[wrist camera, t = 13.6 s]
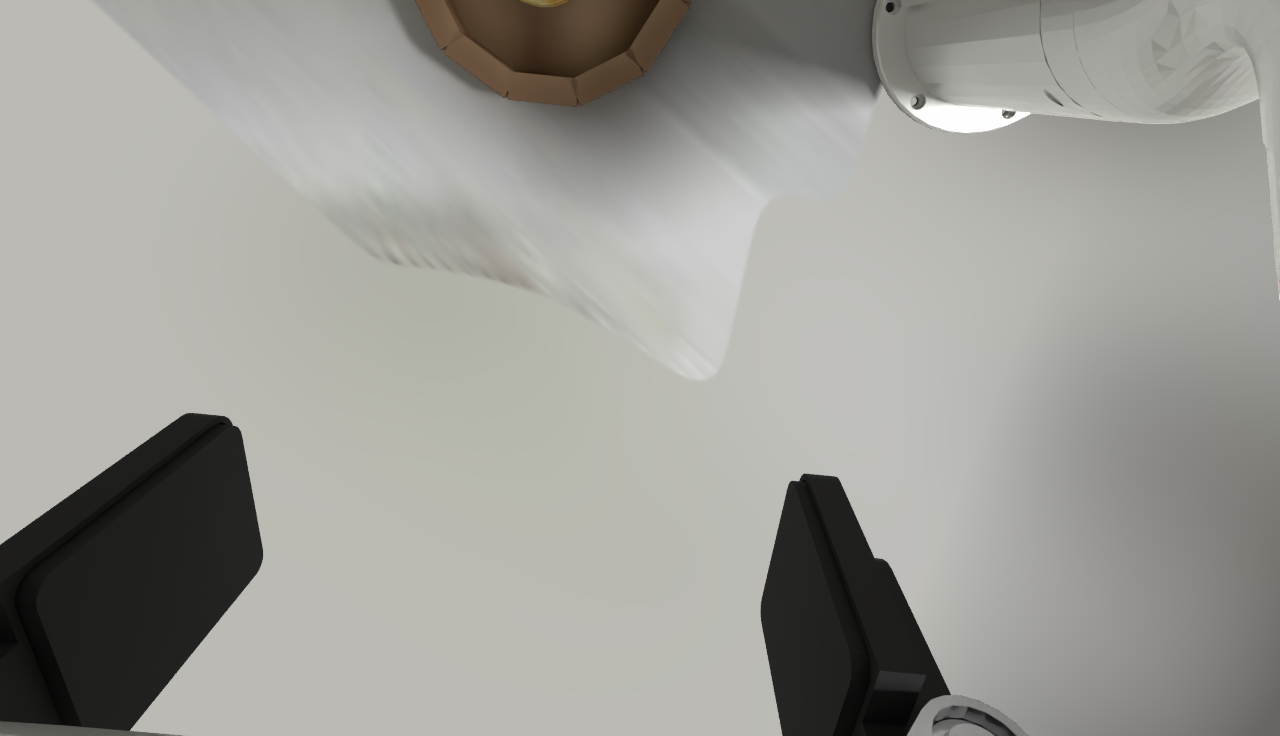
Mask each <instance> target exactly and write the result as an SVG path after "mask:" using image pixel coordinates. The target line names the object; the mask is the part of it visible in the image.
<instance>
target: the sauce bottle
mask: <svg viewBox="0 0 1280 736" xmlns="http://www.w3.org/2000/svg"><path fill="white" fill-rule="evenodd" d="M520 1H522V2H524V3H527V4H530V5H533V6H537V7H555V6H559V5H562V4H564V3H566V2H569V1H571V0H520Z"/></svg>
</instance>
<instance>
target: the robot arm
mask: <svg viewBox="0 0 1280 736" xmlns="http://www.w3.org/2000/svg"><path fill="white" fill-rule="evenodd" d="M888 3H891V4H892V5H893V9H892V11H891V12H887V11H886V5H887V4H888ZM872 46H873V58H874V61H875V65H876V68H877V72H878V76H879V78H880V80H881V82H882V84H883V86H884V88H885V90H886V92H887V94H888V95H889V96H890V98H891V99H892V100H893V102H894V103H895V104H896V105H897V106H898V108H899V109H900V110H901V111H903V112H904V113H905V114H906V115H908V116H909V117H910V118H912V119H913V120H914V121H916V122H918V123H920V124H923V125H925V126H927V127H929V128H931V129H936V130H940V131H943V132H949V133H959V134H972V133H983V132H988V131H992V130H995V129H998V128H1002V127H1006V126H1008V125H1010V124H1012V123H1014V122H1016V121H1018V120H1020V119H1022V118H1024V117H1026V116H1028V115H1029V114H1031V113H1036V114H1046V115H1057V116H1066V117H1076V118H1087V119H1097V120H1107V121H1118V122H1134V123H1145V124H1172V123H1181V122H1188V121H1193V120H1199V119H1204V118H1208V117H1212V116H1215V115H1218V114H1222V113H1225V112H1227V111H1230V110H1233V109H1235V108H1237V107H1240V106H1242V105H1245V104H1247V103H1250V102H1252V101H1255V100H1257V99H1260V111H1261V123H1262V135H1263V142H1264V145H1265V146H1266V148H1267V160H1268V174H1269V186H1270V198H1271V212H1272V225H1273V238H1274V250H1275V262H1276V263H1275V264H1276V274H1277V277H1278V288H1279V299H1280V0H877V1H876V5H875V9H874V14H873V25H872ZM913 97H916V99H917V102H916V104H915V105H914V106H912V105H911V100H912V98H913ZM1002 110H1005V113H1004V114H1003V115H1001V111H1002ZM262 560H263V548H262V542H261V537H260V532H259V527H258V521H257V516H256V510H255V504H254V499H253V493H252V488H251V482H250V477H249V472H248V466H247V461H246V455H245V450H244V444H243V439H242V434H241V431H240V430H239V428H238V427H236V426H233V425H232V422H231V421H230V420H229V418H227V417H225V416H217V415H207V414H197V413H196V414H195V413H187V414H185V415H183V416H181V417H180V418H178V419H177V420H176V421H174V422H172V423H171V424H170V425H168V426H167V427H166V428H164V429H163V430H161V431H160V432H158V433H157V434H156V435H154V436H153V437H151V438H150V439H149V440H147V441H146V442H144V443H143V444H141V445H140V446H139V447H137V448H136V449H134V450H133V451H132V452H130V453H129V454H127V455H126V456H125V457H123V458H122V459H120V460H119V461H118V462H116V463H115V464H113V465H112V466H111V467H109V468H108V469H106V470H105V471H103V472H102V473H101V474H99V475H98V476H96V477H95V478H94V479H92V480H91V481H89V482H88V483H87V484H85V485H84V486H82V487H81V488H80V489H78V490H77V491H75V492H74V493H73V494H71V495H70V496H69V497H67V498H66V499H64V500H63V501H62V502H60V503H59V504H57V505H56V506H54V507H53V508H51V509H50V510H49V511H47V512H46V513H44V514H43V515H42V516H40V517H39V518H37V519H36V520H35V521H33V522H32V523H30V524H29V525H28V526H26V527H25V528H23V529H22V530H20V531H19V532H18V533H17V534H15V535H14V536H12V537H11V538H9V539H8V540H6V541H5V542H4V543H2V544H1V545H0V736H181V735H169V734H158V733H146V732H134V731H130V730H131V728H132V727H133V726H134V725H135V723H136V722H137V721H138V720H139V718H140V717H141V716H142V715H143V713H144V712H145V711H146V710H147V708H148V707H149V706H150V705H151V703H152V702H153V701H154V700H155V699H156V697H157V696H158V695H159V694H160V692H161V691H162V690H163V689H164V687H165V686H166V685H167V684H168V683H169V681H170V680H171V679H172V678H173V676H174V675H175V674H176V673H177V671H178V670H179V669H180V667H182V665H183V664H184V663H185V662H186V660H187V659H188V658H189V656H190V655H191V654H192V653H193V652H194V650H195V649H196V648H197V647H198V646H199V644H200V643H201V642H202V641H203V639H204V638H205V637H206V636H207V634H208V633H209V632H210V631H211V629H212V628H213V627H214V626H215V625H216V623H217V622H218V621H219V619H220V618H221V617H222V616H223V615H224V613H225V612H226V611H227V610H228V608H229V607H230V606H231V605H232V604H233V602H234V601H235V600H236V599H237V597H238V596H239V595H240V594H241V592H242V591H243V590H244V589H245V587H246V586H247V585H248V584H249V583H250V581H251V580H252V579H253V578H254V576H255V575H256V574H257V572H258V570H259V568H260V566H261V563H262ZM761 622H762V628H763V633H764V638H765V643H766V649H767V655H768V660H769V665H770V670H771V676H772V681H773V686H774V692H775V697H776V703H777V708H778V713H779V719H780V724H781V729H782V735H783V736H1028V735H1027V734H1026V733H1025V732H1024V731H1023V730H1022V729H1021V728H1020V726H1018V724H1017V723H1015V722H1014V721H1013V720H1011V719H1010V718H1008V717H1007V716H1006V715H1004V714H1003V713H1002V712H1000V711H999V710H997V709H995V708H993V707H991V706H989V705H987V704H985V703H983V702H981V701H979V700H975V699H971V698H968V697H965V696H961V695H959V696H958V695H951V694H950V692H949V690H948V688H947V685H946V683H945V681H944V679H943V677H942V675H941V673H940V671H939V668H938V666H937V664H936V662H935V660H934V658H933V656H932V654H931V652H930V649H929V647H928V645H927V643H926V641H925V639H924V637H923V635H922V632H921V630H920V628H919V626H918V624H917V622H916V620H915V618H914V616H913V613H912V611H911V609H910V607H909V605H908V603H907V601H906V599H905V596H904V594H903V593H902V590H901V588H900V586H899V584H898V582H897V580H896V577H895V575H894V573H893V571H892V569H891V567H890V566H889V564H888V563H887V562H886V561H885V560H883V559H878V558H874V556H873V554H872V552H871V549H870V547H869V545H868V543H867V541H866V538H865V536H864V534H863V532H862V530H861V527H860V525H859V523H858V520H857V518H856V516H855V514H854V511H853V509H852V507H851V505H850V502H849V500H848V498H847V496H846V494H845V491H844V489H843V487H842V485H841V482H840V481H839V479H838V478H837V477H834V476H824V475H814V474H803V475H802V476H801V478H800V481H791V482H790V483H789V486H788V489H787V493H786V497H785V502H784V506H783V510H782V515H781V519H780V523H779V528H778V531H777V536H776V540H775V544H774V549H773V553H772V557H771V561H770V566H769V570H768V574H767V579H766V583H765V587H764V592H763V596H762V601H761Z"/></svg>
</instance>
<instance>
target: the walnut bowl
mask: <svg viewBox="0 0 1280 736" xmlns="http://www.w3.org/2000/svg"><path fill="white" fill-rule="evenodd" d="M415 2H416V3H417V5H418V7H419V9H420V11H421V13H422V15H423V17H424V19H425V21H426V23H427V25H428V27H429V29H430V30H431V32H432V34H433V36H434V38H435V40H436V42H437V44H438V46H439V48H440V49H442V50H445V52H444V54H445V55H447V56H448V57H449V58H451V59H452V60H453V61H455V62H456V63H457V64H459V65H460V66H462V67H463V68H464V69H466V70H467V71H468V72H470V73H471V74H472V75H474V76H475V77H476V78H478V79H479V80H481V81H482V82H483V83H485V84H486V85H487V86H489V87H490V88H491V89H493V90H494V91H495V92H497V93H498V94H500V95H501V96H502V97H504V98H505V97H508V99H509V100H518V101H528V102H537V103H546V104H556V105H565V106H574V107H577V106H580V105H581V106H582V105H584V104H586V103H588V102H590V101H592V100H594V99H597V98H599V97H601V96H603V95H605V94H607V93H609V92H611V91H613V90H615V89H617V88H619V87H621V86H623V85H625V84H627V83H629V82H631V81H633V80H635V79H637V78H639V77H641V76H643V72H642V71H643V70H645V71H646V72H647V71H648V70H649V68H650V67H651V65H652V64H653V62H654V61H655V59H656V58H657V56H658V55H659V53H660V51H661V50H662V48H663V47H664V45H665V44H666V43H667V41H668V39H669V38H670V36H671V35H672V33H673V32H674V30H675V29H676V27H677V26H678V24H679V22H680V21H681V19H682V18H683V16H684V15H685V13H686V12H687V10H688V8H689V6H687V5H690V3H691V0H571V1H569V2H566V3H564V4H562V5H559V6H555V7H537V6H533V5H530V4H527V3H524V2H522V1H520V0H415ZM686 4H687V5H686Z"/></svg>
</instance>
